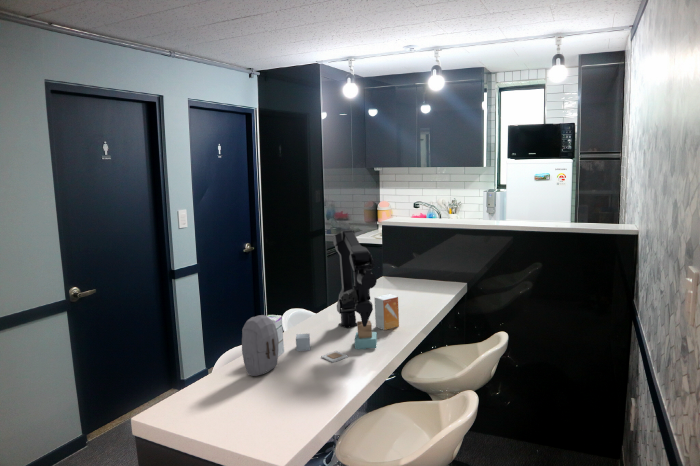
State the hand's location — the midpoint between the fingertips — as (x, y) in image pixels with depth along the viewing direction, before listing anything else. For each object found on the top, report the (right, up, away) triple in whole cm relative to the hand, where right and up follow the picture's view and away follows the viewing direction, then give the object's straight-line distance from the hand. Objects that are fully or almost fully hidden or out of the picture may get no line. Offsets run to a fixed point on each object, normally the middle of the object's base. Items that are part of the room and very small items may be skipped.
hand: (363, 322), depth 195 cm
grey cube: (-23, -10, +1) cm, 25 cm away
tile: (-11, -11, -10) cm, 18 cm away
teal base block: (+1, -9, +1) cm, 9 cm away
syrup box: (-34, -11, -3) cm, 36 cm away
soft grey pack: (-35, -14, -20) cm, 42 cm away
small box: (+11, -6, +21) cm, 24 cm away
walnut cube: (0, -5, 0) cm, 5 cm away
